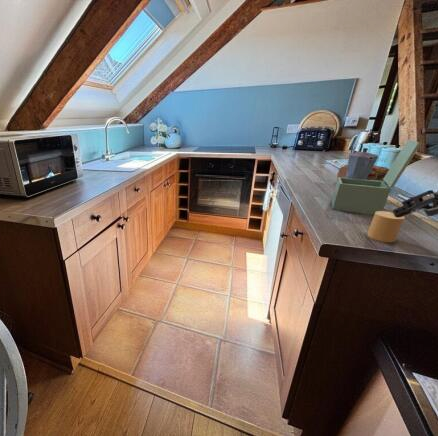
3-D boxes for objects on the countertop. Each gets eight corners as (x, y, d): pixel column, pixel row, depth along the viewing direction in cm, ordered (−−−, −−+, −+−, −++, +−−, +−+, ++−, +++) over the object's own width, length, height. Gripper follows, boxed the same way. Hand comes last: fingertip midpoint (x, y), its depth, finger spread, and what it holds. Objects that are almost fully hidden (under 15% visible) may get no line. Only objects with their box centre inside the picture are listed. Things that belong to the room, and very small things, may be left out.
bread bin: (332, 209, 91) (340, 183, 87) (331, 200, 100) (338, 177, 96) (380, 216, 84) (391, 188, 80) (374, 206, 93) (383, 181, 89)
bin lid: (418, 142, 73) (421, 143, 73) (407, 139, 82) (410, 140, 82) (390, 186, 80) (393, 187, 80) (382, 179, 89) (385, 180, 89)
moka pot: (347, 199, 101) (362, 149, 93) (328, 189, 115) (340, 145, 107) (373, 200, 99) (390, 150, 92) (350, 189, 114) (364, 145, 106)
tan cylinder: (375, 231, 73) (383, 209, 70) (400, 240, 68) (410, 217, 65) (362, 234, 71) (370, 212, 68) (386, 244, 66) (396, 220, 63)
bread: (342, 186, 119) (348, 166, 115) (334, 181, 128) (339, 162, 124) (389, 189, 113) (397, 167, 110) (377, 183, 123) (384, 163, 119)
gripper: (519, 162, 49) (429, 199, 64) (454, 164, 48) (378, 201, 63) (545, 195, 46) (444, 225, 61) (476, 198, 45) (391, 228, 60)
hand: (411, 213), depth 62 cm, fingers open, 8 cm apart
